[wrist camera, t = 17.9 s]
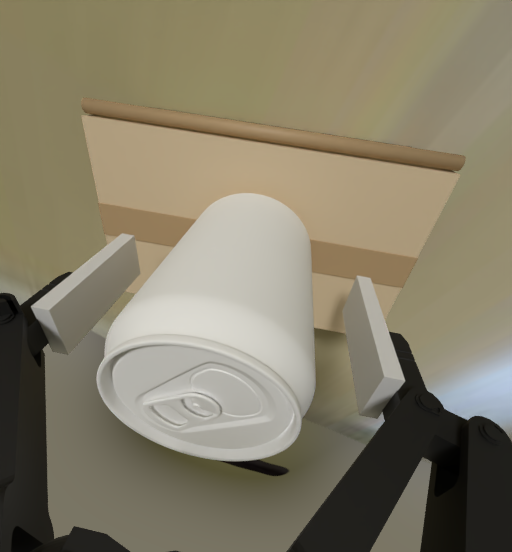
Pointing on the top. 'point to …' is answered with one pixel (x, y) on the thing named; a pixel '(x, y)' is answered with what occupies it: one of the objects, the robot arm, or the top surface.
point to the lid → (269, 193)
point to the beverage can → (220, 337)
